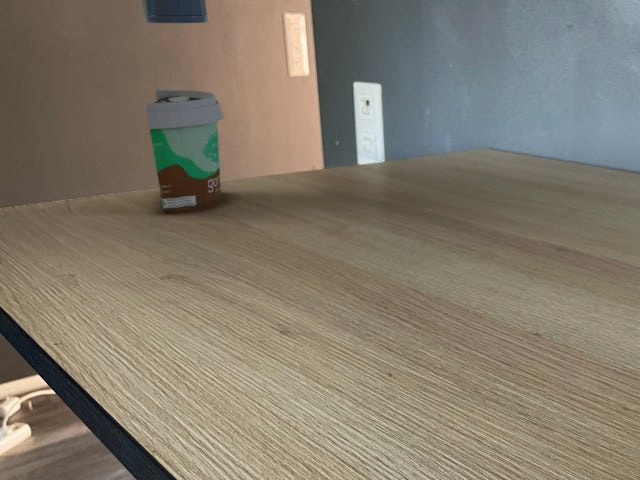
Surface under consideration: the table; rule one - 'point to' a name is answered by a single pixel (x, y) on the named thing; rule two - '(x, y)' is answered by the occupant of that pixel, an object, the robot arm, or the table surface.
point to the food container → (186, 149)
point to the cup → (175, 11)
